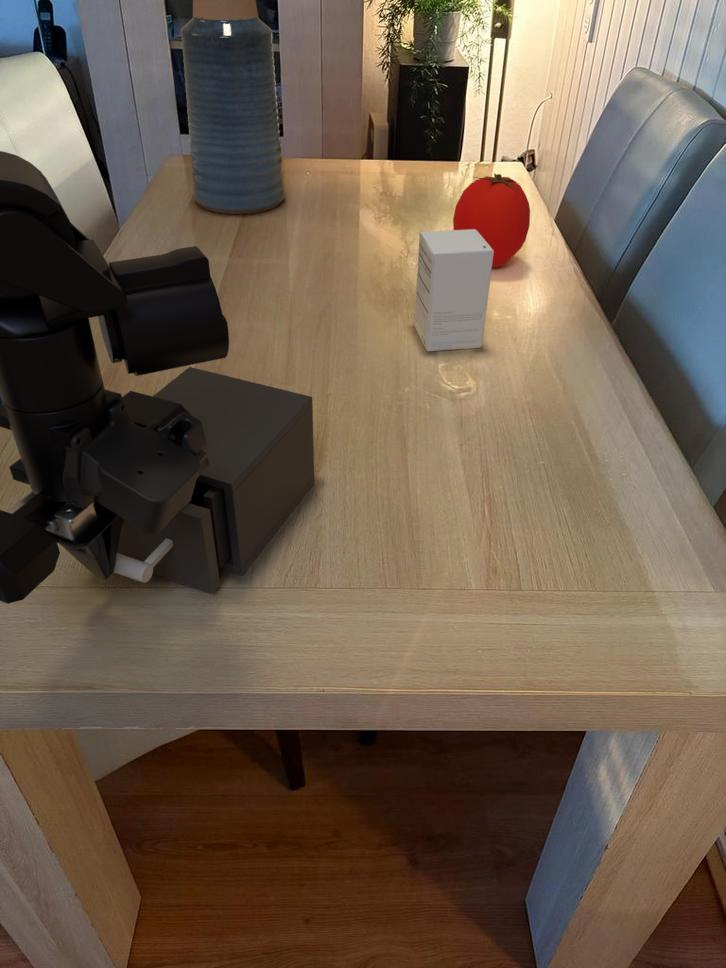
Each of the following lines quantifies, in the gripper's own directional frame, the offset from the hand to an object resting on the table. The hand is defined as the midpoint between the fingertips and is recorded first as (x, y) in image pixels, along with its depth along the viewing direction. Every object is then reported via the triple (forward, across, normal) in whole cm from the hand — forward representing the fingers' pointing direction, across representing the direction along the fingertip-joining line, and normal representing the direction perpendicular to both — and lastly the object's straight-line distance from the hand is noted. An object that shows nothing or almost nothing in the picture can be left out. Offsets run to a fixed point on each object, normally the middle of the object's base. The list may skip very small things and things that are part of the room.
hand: (104, 575), depth 54 cm
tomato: (+5, +82, -6) cm, 83 cm away
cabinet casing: (+5, +15, 0) cm, 16 cm away
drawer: (+4, +9, 0) cm, 10 cm away
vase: (+5, +91, +43) cm, 101 cm away
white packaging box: (+5, +56, -8) cm, 57 cm away
